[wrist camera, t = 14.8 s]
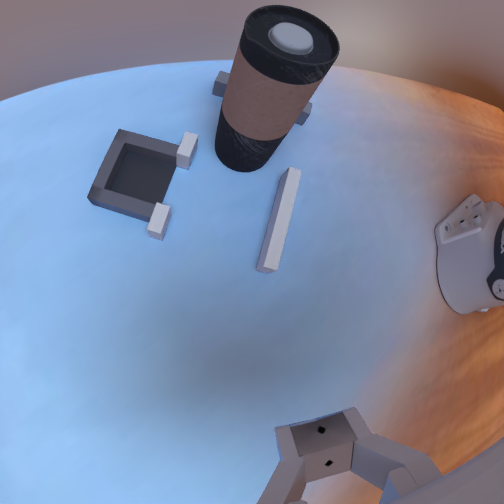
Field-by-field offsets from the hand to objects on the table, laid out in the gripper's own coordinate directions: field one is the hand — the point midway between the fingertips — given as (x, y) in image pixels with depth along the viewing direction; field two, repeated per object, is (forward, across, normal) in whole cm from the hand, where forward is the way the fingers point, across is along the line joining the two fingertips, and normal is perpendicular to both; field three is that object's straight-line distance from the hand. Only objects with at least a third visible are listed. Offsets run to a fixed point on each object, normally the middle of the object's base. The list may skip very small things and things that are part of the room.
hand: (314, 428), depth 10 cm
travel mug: (+33, -2, -12) cm, 35 cm away
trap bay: (+29, +11, -10) cm, 33 cm away
